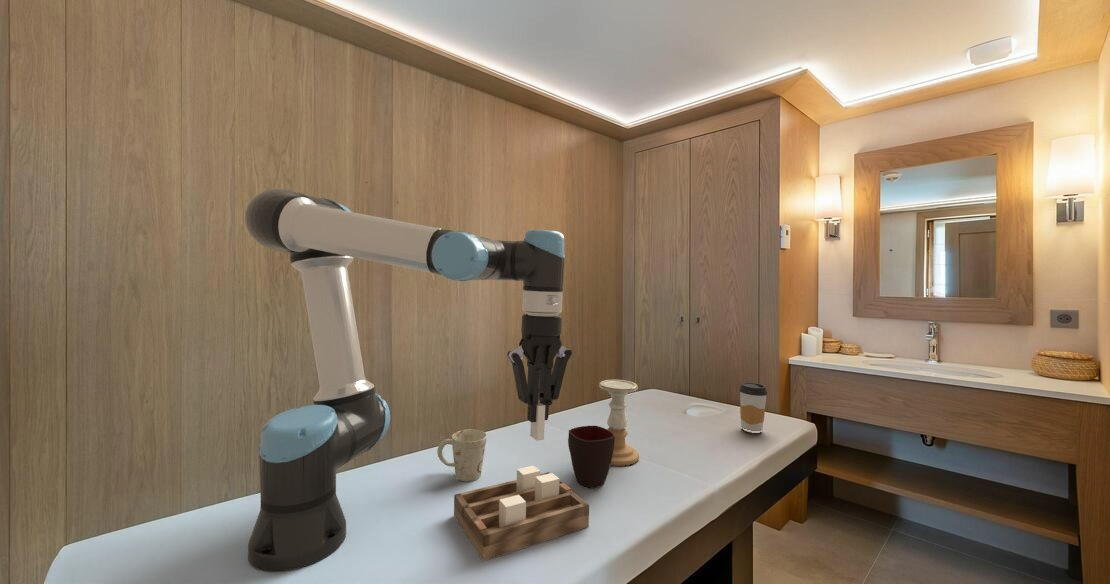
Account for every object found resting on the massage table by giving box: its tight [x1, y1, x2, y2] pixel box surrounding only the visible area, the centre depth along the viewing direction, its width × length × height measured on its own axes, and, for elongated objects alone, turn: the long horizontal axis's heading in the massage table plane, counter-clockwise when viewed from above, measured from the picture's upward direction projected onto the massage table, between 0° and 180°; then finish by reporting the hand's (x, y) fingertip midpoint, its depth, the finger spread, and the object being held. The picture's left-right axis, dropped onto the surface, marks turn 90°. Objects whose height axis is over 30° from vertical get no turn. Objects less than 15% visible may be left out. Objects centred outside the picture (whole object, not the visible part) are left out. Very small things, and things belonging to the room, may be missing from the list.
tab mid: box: [535, 472, 560, 501], centre depth 91 cm, size 4×3×5 cm
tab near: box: [499, 495, 526, 527], centre depth 81 cm, size 4×3×5 cm
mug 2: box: [567, 425, 615, 489], centre depth 106 cm, size 10×14×12 cm
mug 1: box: [437, 428, 487, 482], centre depth 107 cm, size 8×13×10 cm, turn 78°
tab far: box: [516, 465, 541, 492], centre depth 94 cm, size 4×3×5 cm
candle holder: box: [598, 379, 640, 467], centre depth 120 cm, size 12×12×20 cm
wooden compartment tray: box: [453, 471, 590, 562], centre depth 88 cm, size 22×16×5 cm
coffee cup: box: [739, 382, 768, 431], centre depth 144 cm, size 8×8×15 cm
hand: (537, 437), depth 83 cm, fingers closed
